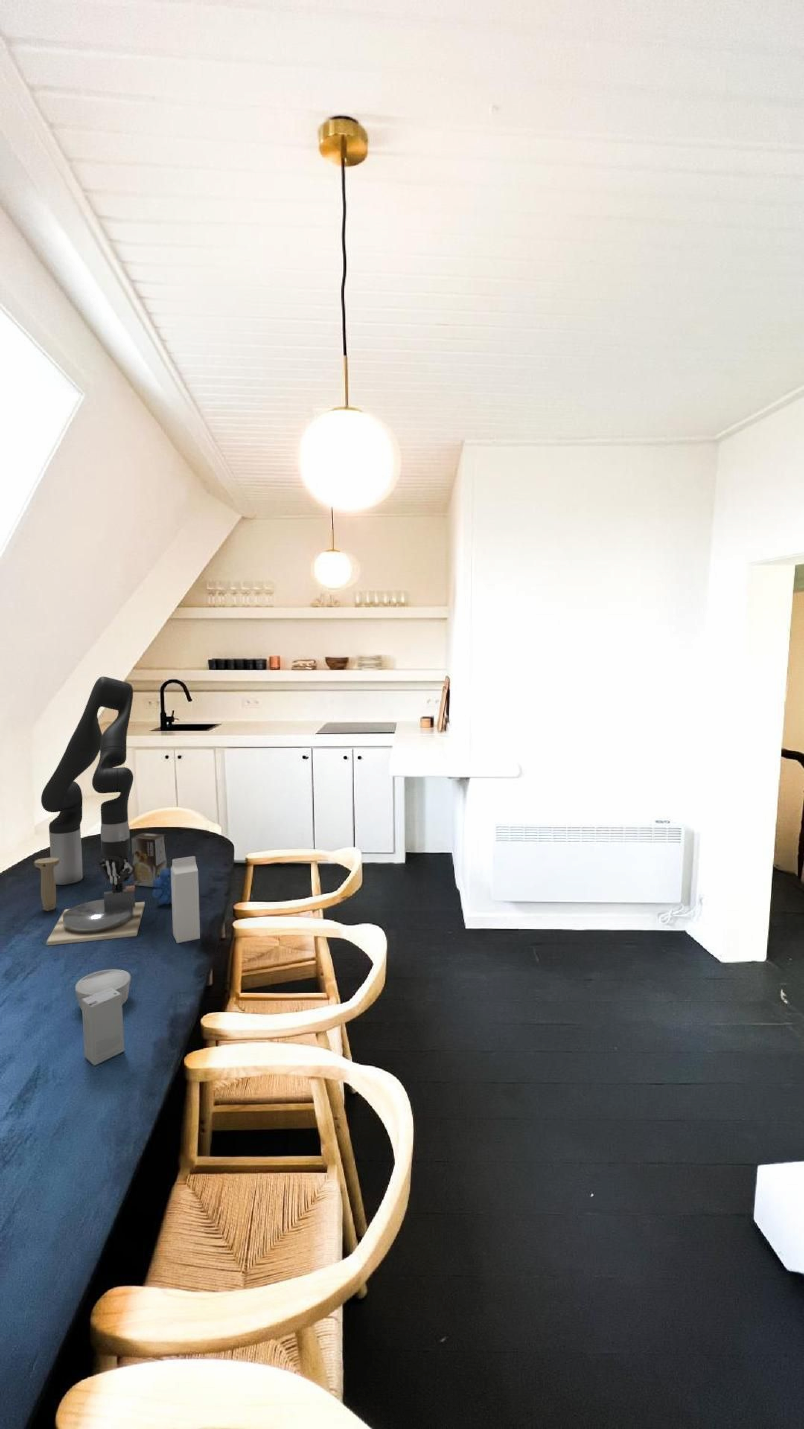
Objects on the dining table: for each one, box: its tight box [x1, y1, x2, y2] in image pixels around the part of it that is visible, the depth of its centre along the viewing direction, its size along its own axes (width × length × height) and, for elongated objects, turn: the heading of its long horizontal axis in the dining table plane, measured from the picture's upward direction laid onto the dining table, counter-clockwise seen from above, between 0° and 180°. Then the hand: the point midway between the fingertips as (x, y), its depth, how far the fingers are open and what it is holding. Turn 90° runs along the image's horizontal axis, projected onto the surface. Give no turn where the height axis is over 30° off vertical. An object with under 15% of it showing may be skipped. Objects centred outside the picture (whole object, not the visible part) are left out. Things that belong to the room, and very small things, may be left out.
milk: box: [170, 855, 201, 944], centre depth 176 cm, size 6×6×22 cm
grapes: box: [151, 867, 172, 905], centre depth 200 cm, size 12×7×12 cm, turn 112°
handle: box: [34, 857, 59, 912], centre depth 195 cm, size 5×6×15 cm
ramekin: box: [74, 968, 132, 1010], centre depth 144 cm, size 11×11×5 cm
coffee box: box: [131, 832, 168, 888], centre depth 216 cm, size 9×6×16 cm
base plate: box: [46, 901, 146, 947], centre depth 185 cm, size 22×22×1 cm
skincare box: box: [81, 988, 125, 1066], centre depth 126 cm, size 6×4×12 cm
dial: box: [63, 884, 136, 933], centre depth 185 cm, size 19×18×8 cm
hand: (117, 895), depth 189 cm, fingers closed
